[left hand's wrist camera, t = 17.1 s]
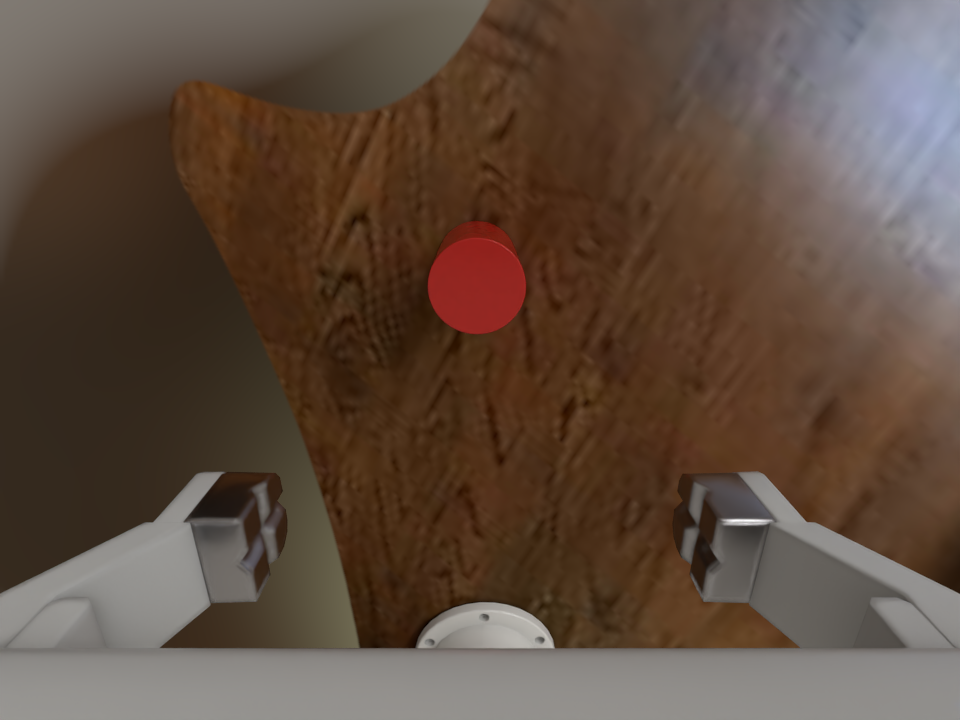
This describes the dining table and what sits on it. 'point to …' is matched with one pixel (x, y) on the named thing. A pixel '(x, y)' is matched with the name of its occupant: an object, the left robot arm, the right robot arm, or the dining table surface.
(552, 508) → the dining table surface
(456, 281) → the can
